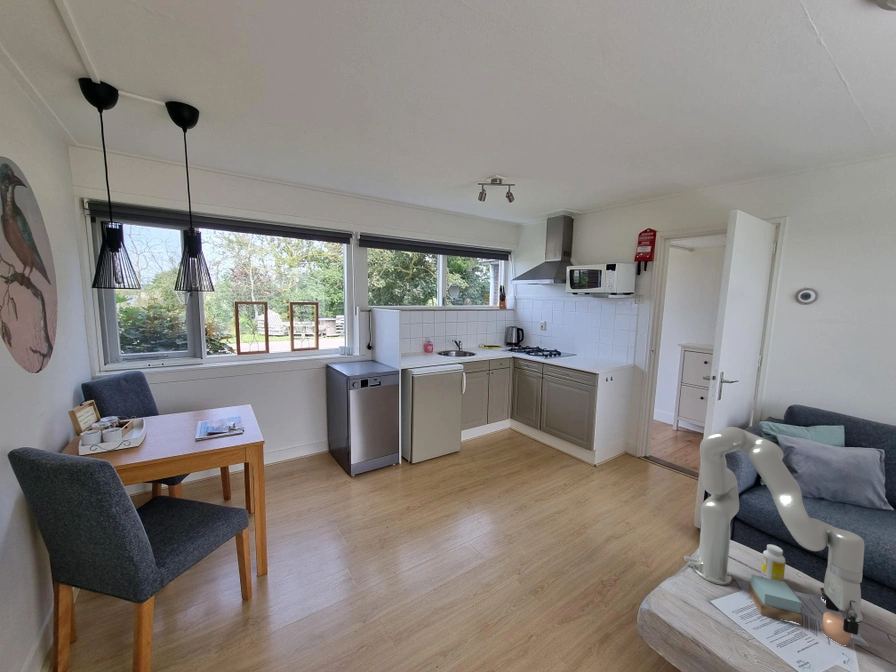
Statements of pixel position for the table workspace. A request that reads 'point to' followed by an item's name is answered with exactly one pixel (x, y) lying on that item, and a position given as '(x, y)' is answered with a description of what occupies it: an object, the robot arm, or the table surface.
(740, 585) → the table surface
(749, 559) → the table surface
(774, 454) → the robot arm
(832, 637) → the brown egg
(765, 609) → the tower base block
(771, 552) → the supplement bottle
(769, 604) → the tower top block
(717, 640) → the table surface
